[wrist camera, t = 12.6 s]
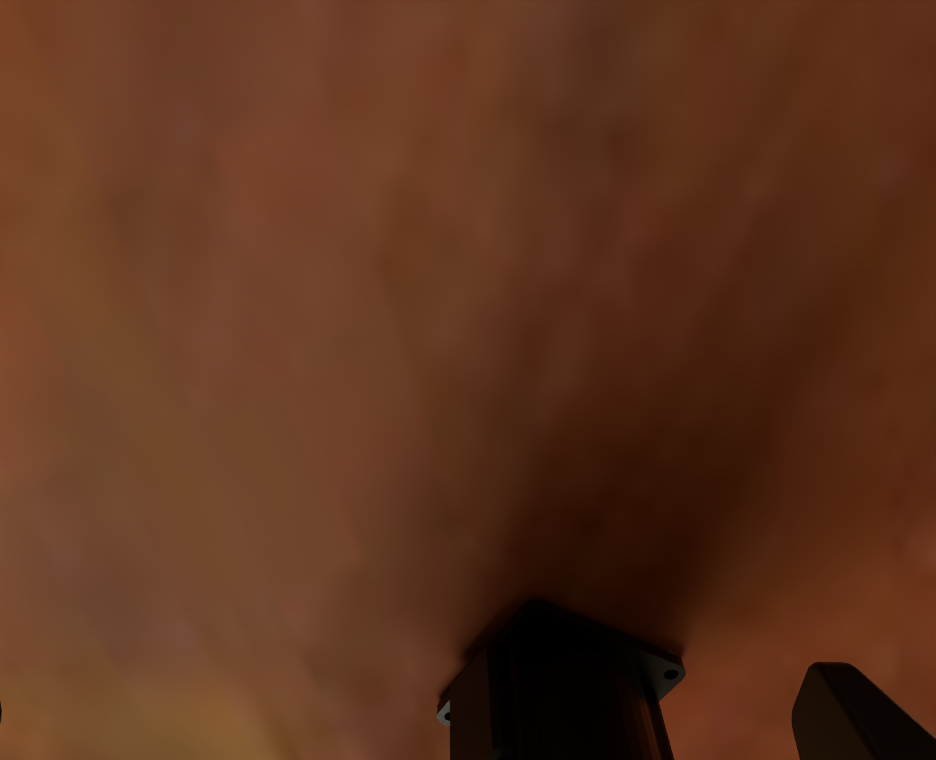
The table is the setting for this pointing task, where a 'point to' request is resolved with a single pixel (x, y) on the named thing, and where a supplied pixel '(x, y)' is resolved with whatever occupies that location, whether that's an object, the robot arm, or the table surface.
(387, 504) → the table surface
